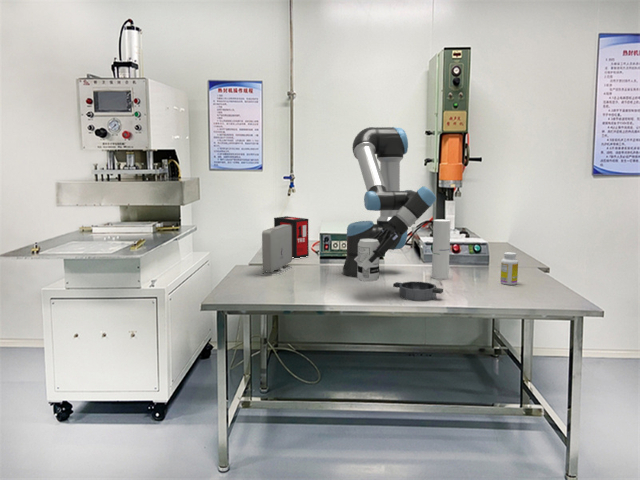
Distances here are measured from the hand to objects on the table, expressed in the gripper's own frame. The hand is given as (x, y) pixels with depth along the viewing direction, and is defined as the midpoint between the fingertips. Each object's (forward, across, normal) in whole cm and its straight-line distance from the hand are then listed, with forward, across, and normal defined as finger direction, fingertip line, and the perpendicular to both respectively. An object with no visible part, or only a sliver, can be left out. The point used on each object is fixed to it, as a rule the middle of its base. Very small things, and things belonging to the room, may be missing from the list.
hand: (359, 264), depth 207 cm
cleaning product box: (+20, +86, -1) cm, 88 cm away
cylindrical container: (-21, +24, -40) cm, 51 cm away
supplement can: (+2, 0, -7) cm, 7 cm away
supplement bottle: (-38, +8, -56) cm, 68 cm away
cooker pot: (-7, -4, -24) cm, 25 cm away
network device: (+28, +52, +8) cm, 59 cm away
